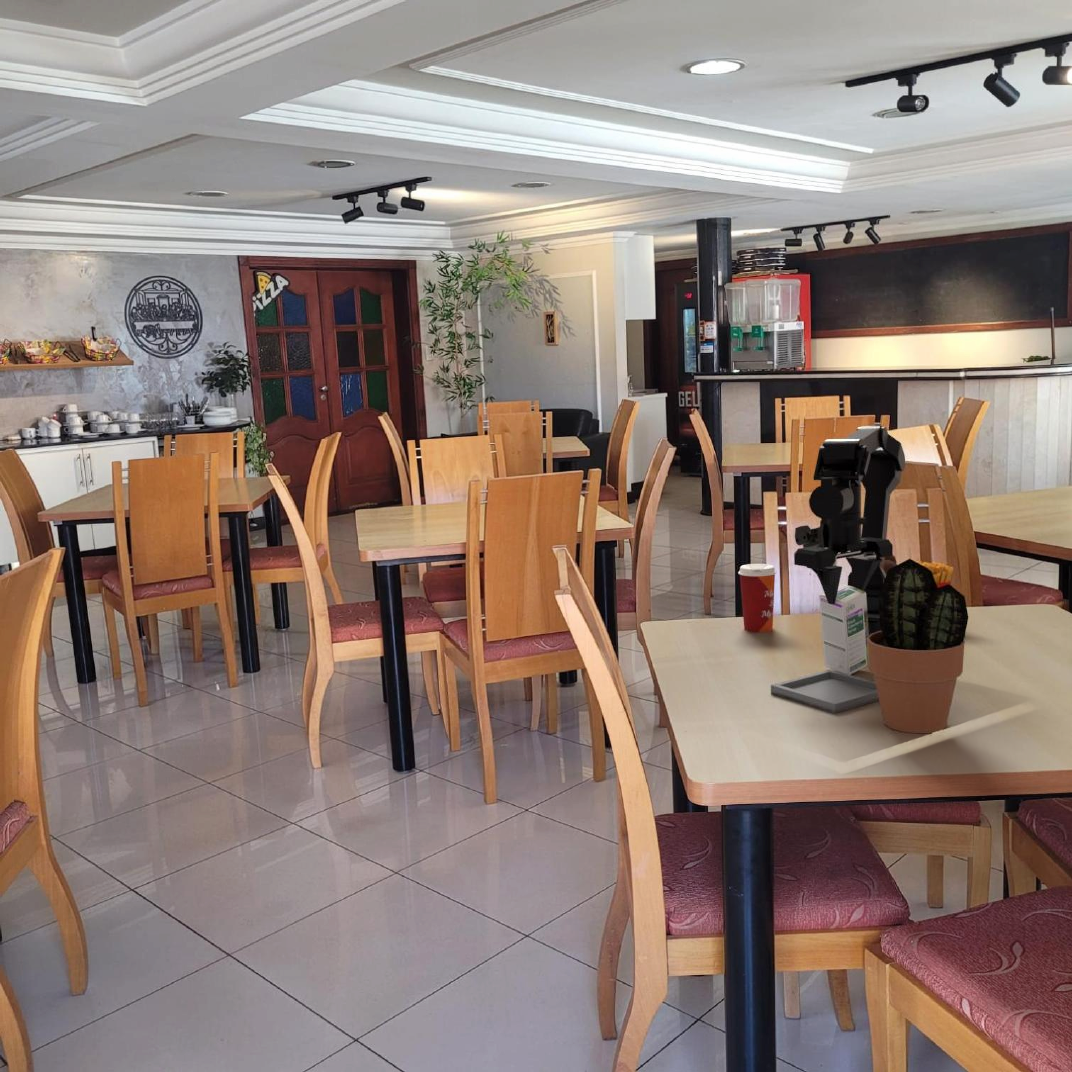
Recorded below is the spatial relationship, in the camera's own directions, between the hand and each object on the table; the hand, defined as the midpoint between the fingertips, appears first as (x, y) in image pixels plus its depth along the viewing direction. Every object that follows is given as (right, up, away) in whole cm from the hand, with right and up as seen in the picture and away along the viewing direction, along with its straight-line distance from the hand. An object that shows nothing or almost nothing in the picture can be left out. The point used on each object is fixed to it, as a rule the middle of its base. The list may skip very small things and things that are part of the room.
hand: (844, 601), depth 183 cm
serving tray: (-4, -15, -8) cm, 18 cm away
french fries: (+27, -7, +35) cm, 44 cm away
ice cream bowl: (+19, -7, +40) cm, 45 cm away
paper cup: (-7, -9, +35) cm, 37 cm away
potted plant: (+3, -17, -25) cm, 30 cm away
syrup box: (+2, -12, +5) cm, 13 cm away
